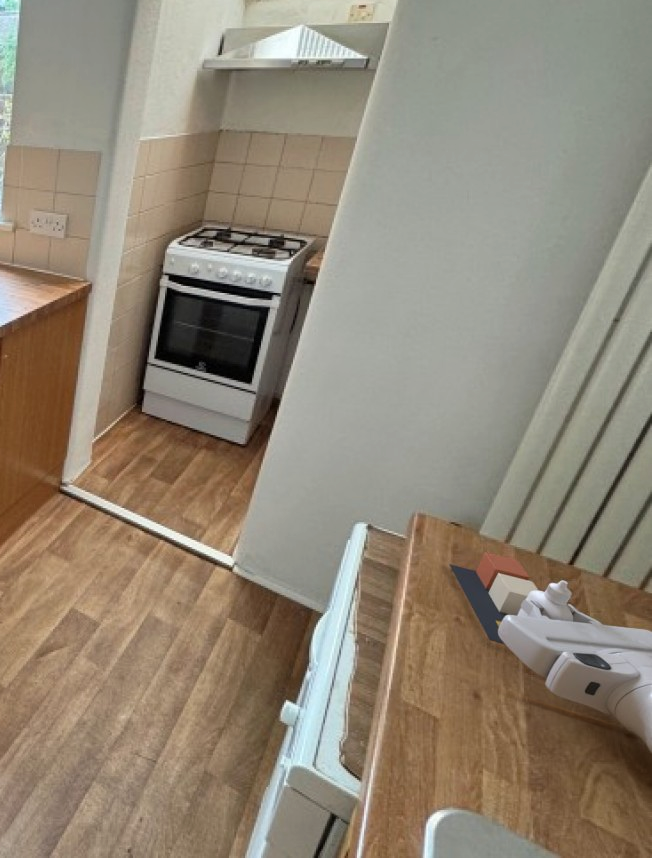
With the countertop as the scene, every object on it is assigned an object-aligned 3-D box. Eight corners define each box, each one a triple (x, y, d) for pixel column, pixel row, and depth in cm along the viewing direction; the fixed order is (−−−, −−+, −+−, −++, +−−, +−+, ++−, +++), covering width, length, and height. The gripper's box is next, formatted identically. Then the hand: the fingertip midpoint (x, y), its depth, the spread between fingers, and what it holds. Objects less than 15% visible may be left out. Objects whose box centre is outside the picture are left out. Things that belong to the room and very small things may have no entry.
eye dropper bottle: (547, 635, 95) (580, 577, 91) (555, 660, 91) (590, 600, 86) (510, 621, 97) (540, 564, 93) (516, 645, 93) (548, 586, 89)
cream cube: (522, 601, 102) (532, 581, 100) (534, 621, 98) (545, 600, 96) (488, 592, 103) (498, 572, 102) (499, 611, 100) (509, 591, 98)
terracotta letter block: (507, 579, 106) (517, 559, 105) (519, 597, 102) (529, 577, 101) (475, 571, 108) (484, 551, 106) (485, 588, 104) (495, 568, 103)
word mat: (533, 588, 105) (535, 585, 105) (590, 672, 90) (592, 669, 90) (447, 566, 110) (449, 563, 110) (488, 642, 95) (490, 639, 94)
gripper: (735, 680, 77) (629, 597, 90) (559, 659, 80) (480, 581, 93) (710, 713, 80) (610, 628, 93) (540, 693, 82) (465, 612, 95)
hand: (544, 604), depth 93 cm, fingers closed on eye dropper bottle, 3 cm apart
